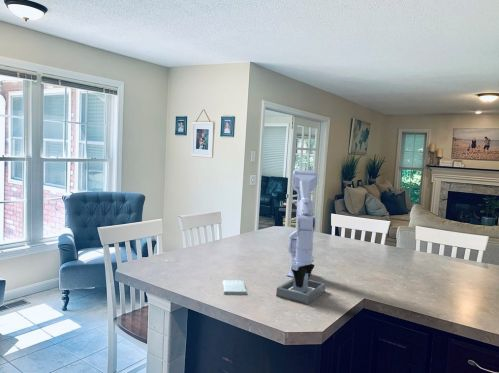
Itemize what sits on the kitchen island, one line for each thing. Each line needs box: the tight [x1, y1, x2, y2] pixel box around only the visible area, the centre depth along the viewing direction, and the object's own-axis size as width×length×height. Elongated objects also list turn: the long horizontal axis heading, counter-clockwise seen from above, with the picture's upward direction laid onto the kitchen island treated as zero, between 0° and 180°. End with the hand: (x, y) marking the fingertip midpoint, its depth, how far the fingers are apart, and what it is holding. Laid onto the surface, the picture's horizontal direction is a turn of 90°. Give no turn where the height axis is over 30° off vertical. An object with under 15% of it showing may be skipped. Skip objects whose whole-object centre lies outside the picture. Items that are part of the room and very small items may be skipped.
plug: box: [292, 273, 308, 292], centre depth 140 cm, size 4×4×7 cm
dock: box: [275, 278, 327, 305], centre depth 140 cm, size 16×12×3 cm
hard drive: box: [221, 279, 248, 295], centre depth 142 cm, size 2×8×12 cm
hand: (301, 285), depth 140 cm, fingers closed on plug, 4 cm apart
